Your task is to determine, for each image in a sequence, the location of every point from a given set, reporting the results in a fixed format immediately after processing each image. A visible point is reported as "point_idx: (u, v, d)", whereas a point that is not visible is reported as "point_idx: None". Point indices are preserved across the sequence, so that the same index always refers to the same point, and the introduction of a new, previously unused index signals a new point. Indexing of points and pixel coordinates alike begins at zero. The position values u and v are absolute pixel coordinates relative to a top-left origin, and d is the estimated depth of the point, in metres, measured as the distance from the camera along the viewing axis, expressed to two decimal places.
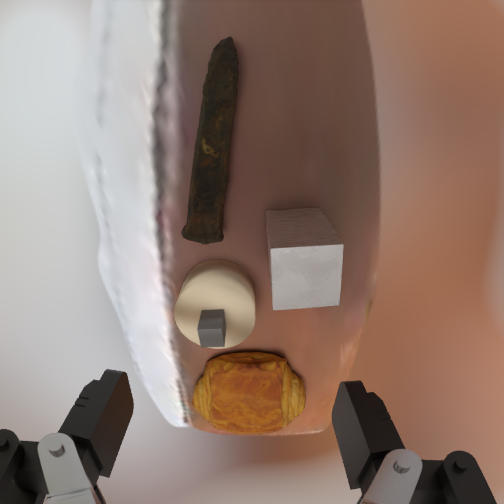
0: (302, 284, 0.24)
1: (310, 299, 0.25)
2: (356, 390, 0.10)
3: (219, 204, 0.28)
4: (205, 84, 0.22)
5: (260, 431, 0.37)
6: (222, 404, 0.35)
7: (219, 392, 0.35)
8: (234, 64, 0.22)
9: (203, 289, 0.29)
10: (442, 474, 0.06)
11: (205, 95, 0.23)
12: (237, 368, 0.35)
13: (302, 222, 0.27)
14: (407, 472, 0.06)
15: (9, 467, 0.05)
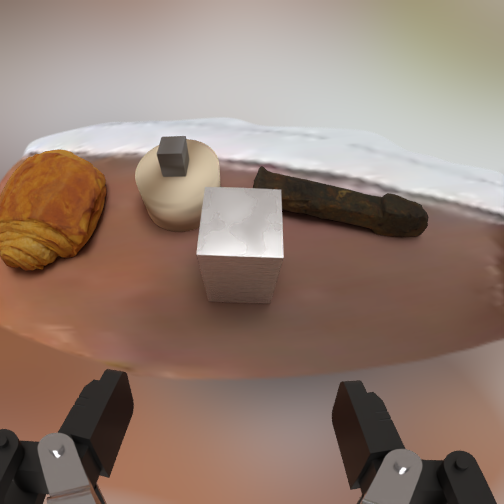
0: (234, 214, 0.21)
1: (212, 222, 0.21)
2: (356, 390, 0.10)
3: (291, 197, 0.30)
4: (395, 195, 0.29)
5: (5, 194, 0.25)
6: (61, 162, 0.28)
7: (76, 164, 0.28)
8: (413, 215, 0.28)
9: (213, 163, 0.29)
10: (442, 474, 0.06)
11: (386, 194, 0.29)
12: (95, 189, 0.29)
13: None
14: (407, 472, 0.06)
15: (9, 467, 0.05)
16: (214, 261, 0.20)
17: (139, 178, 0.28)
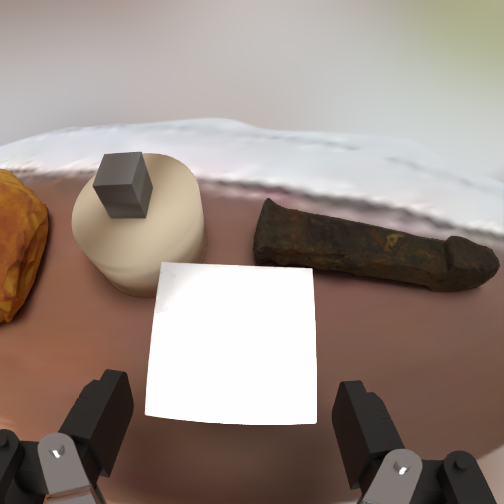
0: (219, 329, 0.10)
1: (174, 346, 0.10)
2: (356, 390, 0.10)
3: (317, 250, 0.19)
4: (462, 238, 0.18)
5: None
6: None
7: (4, 193, 0.18)
8: (485, 268, 0.17)
9: (190, 194, 0.18)
10: (442, 474, 0.06)
11: (451, 237, 0.18)
12: (26, 231, 0.18)
13: None
14: (407, 472, 0.06)
15: (9, 467, 0.05)
16: None
17: (77, 221, 0.17)
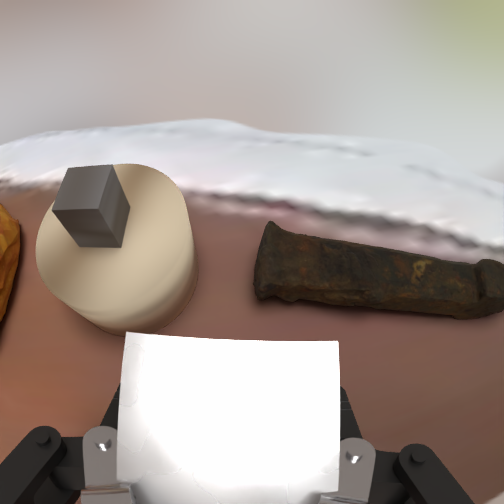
0: (207, 431, 0.06)
1: (148, 450, 0.06)
2: None
3: (332, 286, 0.15)
4: (494, 261, 0.15)
5: None
6: None
7: None
8: None
9: (175, 216, 0.14)
10: (399, 470, 0.06)
11: (483, 261, 0.15)
12: None
13: None
14: (358, 461, 0.07)
15: (46, 466, 0.05)
16: None
17: (41, 249, 0.13)
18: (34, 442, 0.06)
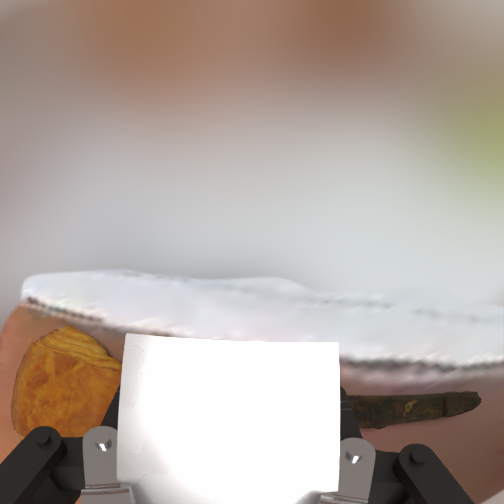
0: (207, 433, 0.06)
1: (148, 452, 0.06)
2: None
3: (359, 425, 0.24)
4: (456, 393, 0.24)
5: (23, 408, 0.20)
6: (82, 377, 0.22)
7: (101, 379, 0.23)
8: (469, 410, 0.23)
9: None
10: (399, 470, 0.06)
11: (449, 395, 0.24)
12: None
13: None
14: (358, 461, 0.07)
15: (46, 466, 0.05)
16: None
17: None
18: (34, 442, 0.06)
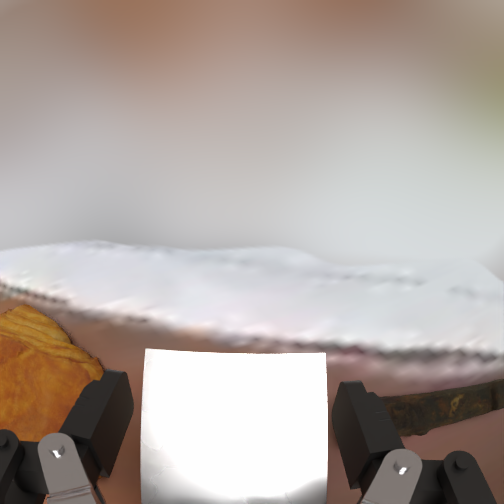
0: (217, 430, 0.08)
1: (167, 448, 0.07)
2: (356, 390, 0.10)
3: None
4: None
5: None
6: (30, 368, 0.15)
7: (54, 372, 0.16)
8: None
9: None
10: (442, 474, 0.06)
11: (498, 384, 0.17)
12: None
13: None
14: (407, 472, 0.06)
15: (9, 468, 0.05)
16: None
17: None
18: None
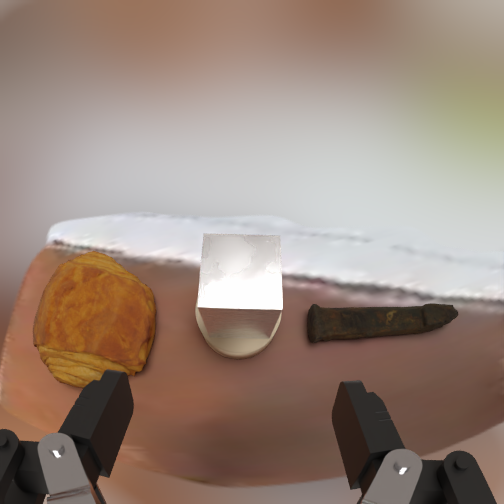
0: (234, 264, 0.21)
1: (212, 273, 0.21)
2: (356, 390, 0.10)
3: (348, 332, 0.30)
4: (432, 304, 0.31)
5: (47, 316, 0.26)
6: (106, 283, 0.29)
7: (123, 286, 0.30)
8: (448, 320, 0.30)
9: None
10: (442, 474, 0.06)
11: (425, 306, 0.31)
12: (149, 316, 0.30)
13: None
14: (407, 472, 0.06)
15: (9, 468, 0.05)
16: (215, 311, 0.21)
17: (202, 322, 0.28)
18: None
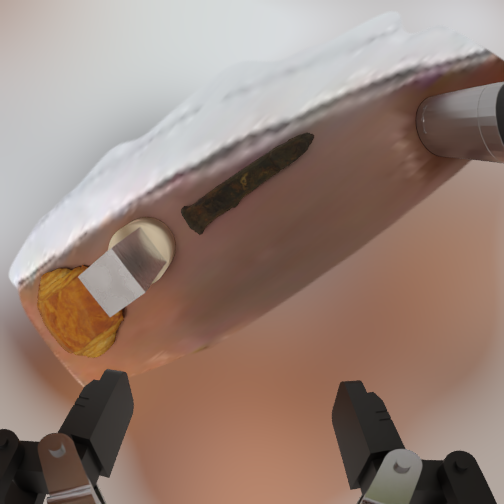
0: (104, 283, 0.29)
1: (100, 295, 0.29)
2: (356, 390, 0.10)
3: (219, 214, 0.38)
4: (278, 148, 0.35)
5: (61, 339, 0.40)
6: (65, 298, 0.39)
7: (73, 290, 0.39)
8: (301, 153, 0.35)
9: (152, 236, 0.37)
10: (442, 474, 0.06)
11: (272, 154, 0.35)
12: None
13: (145, 256, 0.33)
14: (407, 472, 0.06)
15: (9, 468, 0.05)
16: None
17: None
18: None
